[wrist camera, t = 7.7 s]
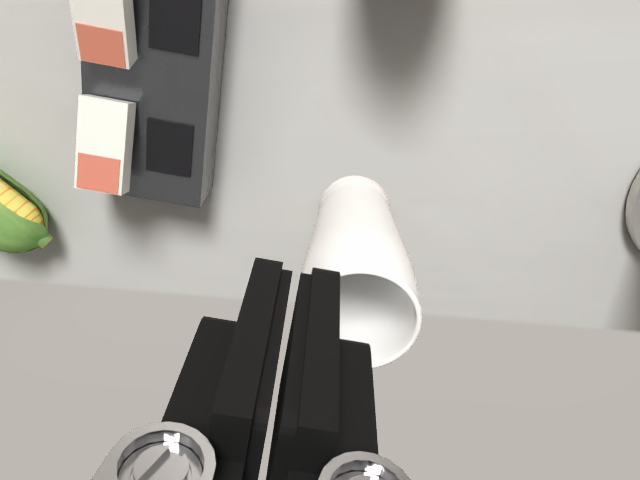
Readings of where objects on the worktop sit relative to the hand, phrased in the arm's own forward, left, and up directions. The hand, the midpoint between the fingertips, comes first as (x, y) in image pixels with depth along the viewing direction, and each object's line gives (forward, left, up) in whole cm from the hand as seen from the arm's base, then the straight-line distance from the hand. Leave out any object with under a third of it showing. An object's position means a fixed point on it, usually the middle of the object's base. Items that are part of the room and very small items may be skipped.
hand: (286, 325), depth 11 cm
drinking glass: (-4, +10, -29) cm, 31 cm away
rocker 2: (+13, +7, -24) cm, 28 cm away
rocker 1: (+13, -1, -24) cm, 27 cm away
